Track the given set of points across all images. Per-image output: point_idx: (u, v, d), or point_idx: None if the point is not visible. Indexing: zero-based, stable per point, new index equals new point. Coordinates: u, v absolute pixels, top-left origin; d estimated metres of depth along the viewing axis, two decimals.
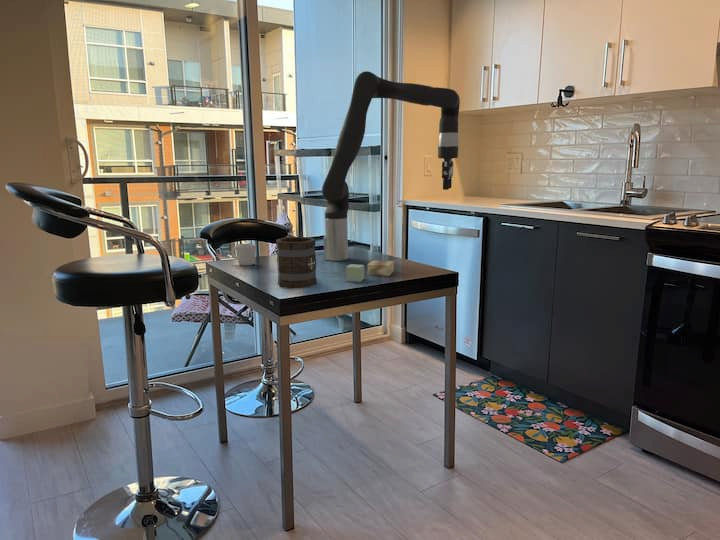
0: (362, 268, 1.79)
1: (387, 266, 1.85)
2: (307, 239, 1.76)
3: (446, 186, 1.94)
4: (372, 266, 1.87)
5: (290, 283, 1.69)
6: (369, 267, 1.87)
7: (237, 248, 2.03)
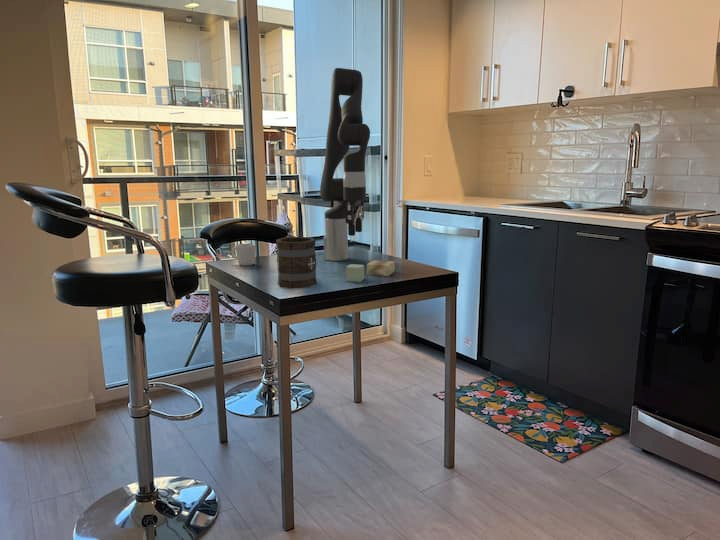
0: (362, 268, 1.79)
1: (386, 266, 1.85)
2: (307, 239, 1.76)
3: (351, 231, 1.72)
4: (371, 266, 1.87)
5: (290, 283, 1.69)
6: (368, 267, 1.88)
7: (237, 248, 2.03)
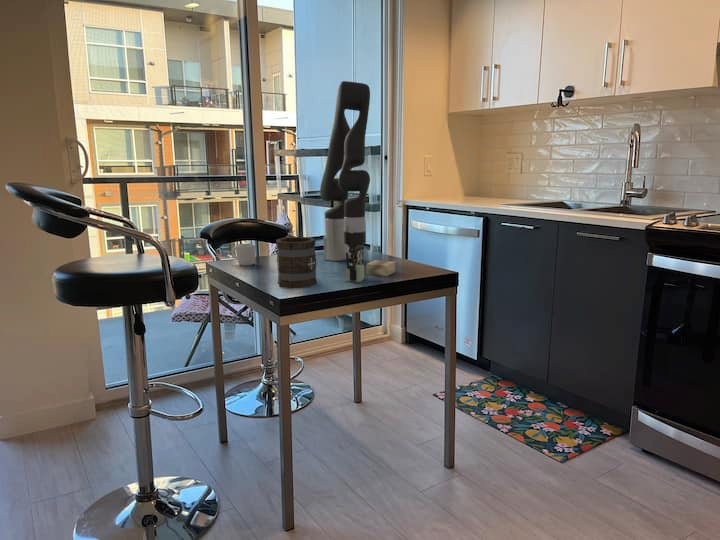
0: (362, 268, 1.79)
1: (385, 266, 1.85)
2: (307, 239, 1.76)
3: (352, 277, 1.76)
4: (371, 266, 1.88)
5: (290, 283, 1.69)
6: (368, 267, 1.88)
7: (237, 248, 2.03)
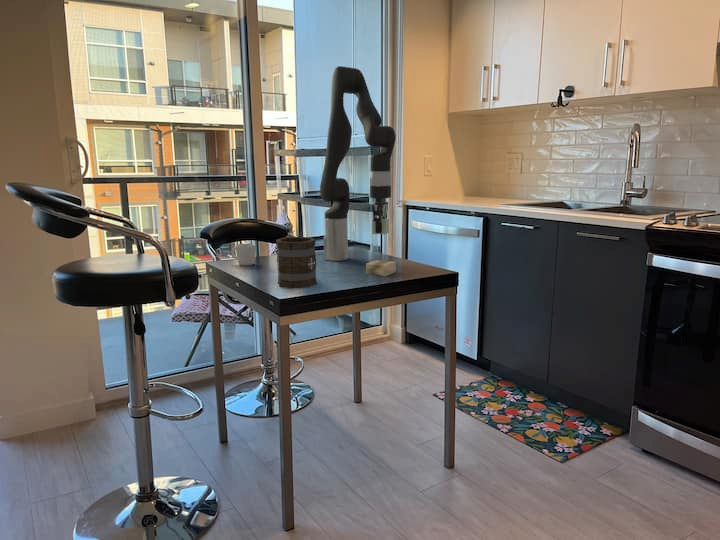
0: (387, 221, 1.86)
1: (383, 266, 1.85)
2: (307, 239, 1.76)
3: (378, 229, 1.84)
4: (370, 266, 1.88)
5: (290, 283, 1.69)
6: (367, 266, 1.89)
7: (237, 248, 2.03)
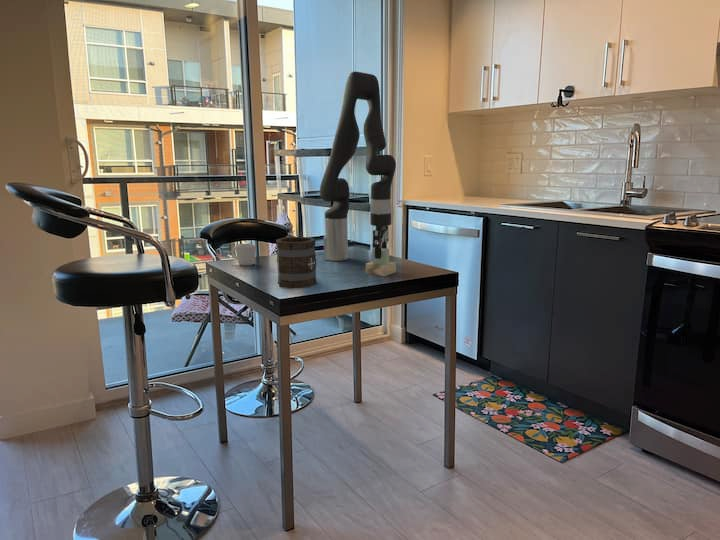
0: (387, 251, 1.89)
1: (382, 266, 1.85)
2: (307, 239, 1.76)
3: (378, 255, 1.84)
4: (369, 265, 1.88)
5: (290, 283, 1.69)
6: (367, 266, 1.89)
7: (237, 248, 2.03)
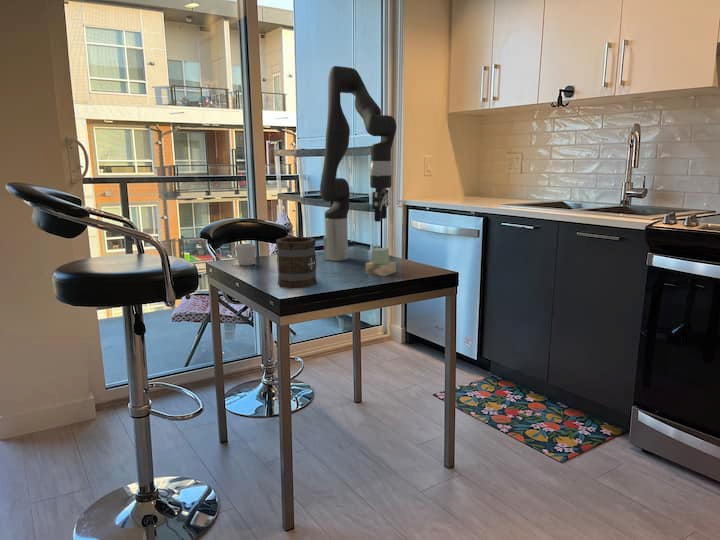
0: (387, 251, 1.89)
1: (382, 266, 1.85)
2: (307, 239, 1.76)
3: (377, 217, 1.82)
4: (369, 265, 1.88)
5: (290, 283, 1.69)
6: (367, 266, 1.89)
7: (237, 248, 2.03)
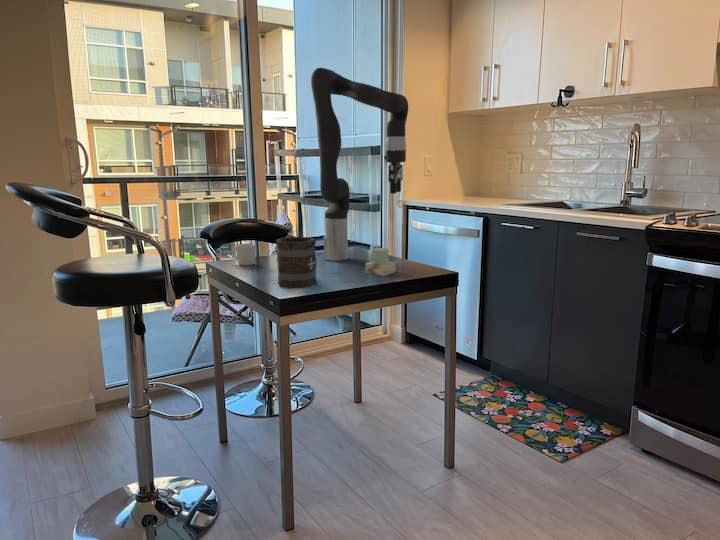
0: (387, 251, 1.89)
1: (382, 266, 1.85)
2: (307, 239, 1.76)
3: (393, 189, 1.94)
4: (369, 265, 1.88)
5: (290, 283, 1.69)
6: (367, 266, 1.89)
7: (237, 248, 2.03)
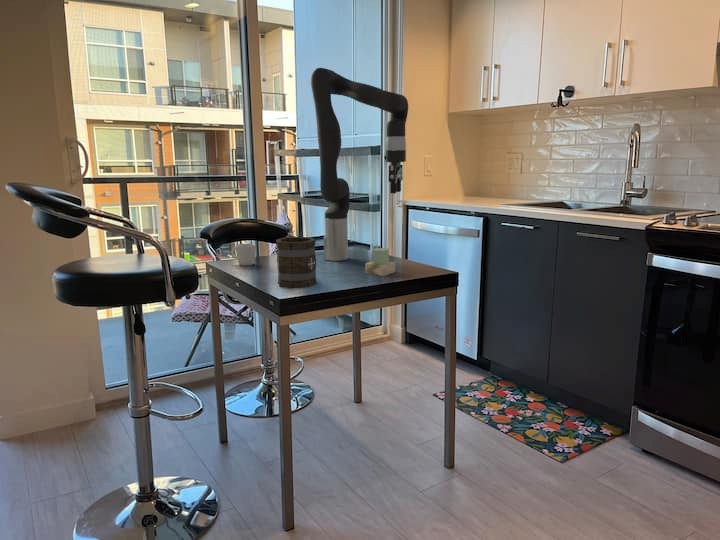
0: (387, 251, 1.89)
1: (382, 266, 1.85)
2: (307, 239, 1.76)
3: (393, 189, 1.94)
4: (369, 265, 1.89)
5: (290, 283, 1.69)
6: (366, 266, 1.89)
7: (237, 248, 2.03)
